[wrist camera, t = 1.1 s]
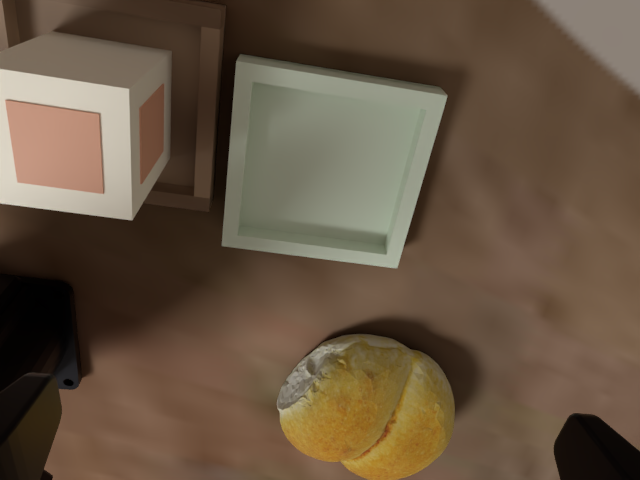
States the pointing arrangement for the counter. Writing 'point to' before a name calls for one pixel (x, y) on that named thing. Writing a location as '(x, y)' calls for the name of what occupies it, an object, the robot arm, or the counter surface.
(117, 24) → the walnut tray
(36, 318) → the robot arm
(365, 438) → the bread roll
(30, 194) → the letter block
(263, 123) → the green tray
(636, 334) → the counter surface
